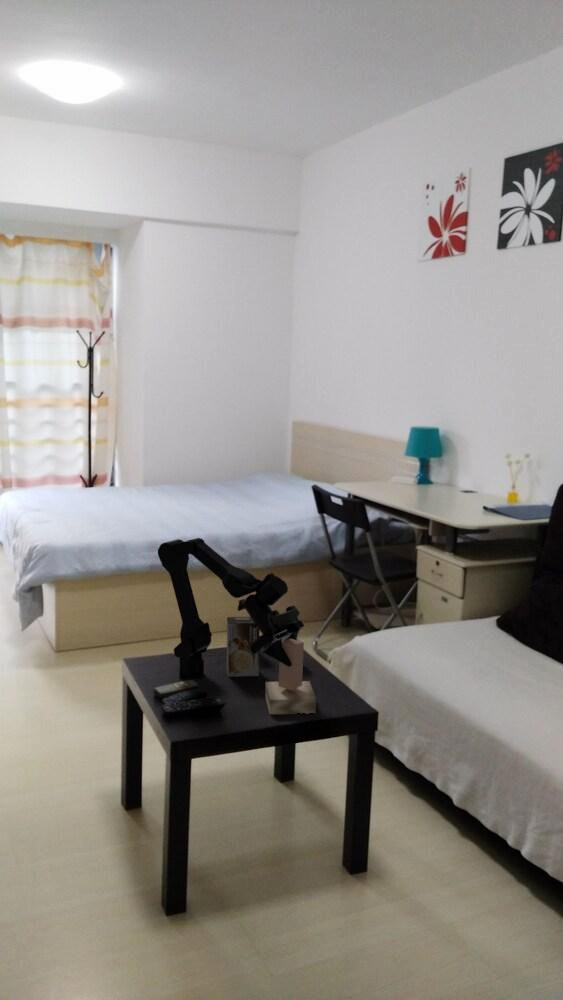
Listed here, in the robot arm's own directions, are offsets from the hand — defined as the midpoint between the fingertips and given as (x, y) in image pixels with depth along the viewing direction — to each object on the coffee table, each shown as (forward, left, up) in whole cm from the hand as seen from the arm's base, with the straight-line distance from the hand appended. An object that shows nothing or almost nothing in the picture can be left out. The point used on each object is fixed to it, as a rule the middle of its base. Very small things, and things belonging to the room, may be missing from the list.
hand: (295, 663), depth 227 cm
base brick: (-1, +1, -12) cm, 12 cm away
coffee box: (-12, +24, -12) cm, 29 cm away
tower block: (-1, +1, -7) cm, 7 cm away
